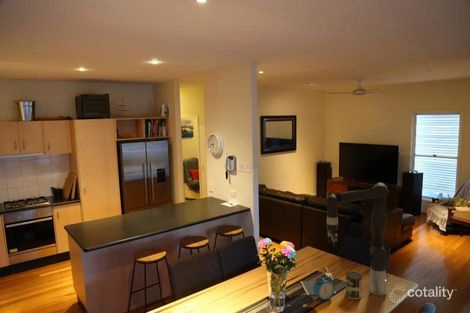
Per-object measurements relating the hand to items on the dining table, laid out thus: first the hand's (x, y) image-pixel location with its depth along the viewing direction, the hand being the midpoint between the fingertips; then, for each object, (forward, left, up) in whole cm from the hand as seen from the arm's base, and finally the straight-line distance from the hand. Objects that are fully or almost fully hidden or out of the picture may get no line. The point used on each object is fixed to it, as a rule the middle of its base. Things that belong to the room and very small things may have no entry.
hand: (332, 244), depth 227 cm
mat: (+12, +3, -30) cm, 32 cm away
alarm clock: (+12, +16, -30) cm, 36 cm away
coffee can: (-9, +15, -30) cm, 35 cm away
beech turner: (-2, -14, -30) cm, 33 cm away
